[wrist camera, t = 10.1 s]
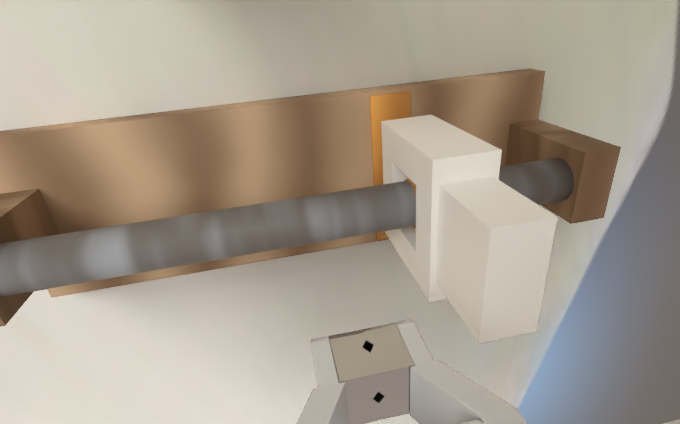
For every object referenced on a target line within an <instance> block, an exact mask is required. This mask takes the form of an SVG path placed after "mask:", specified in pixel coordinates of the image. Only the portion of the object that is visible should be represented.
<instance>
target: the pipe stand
mask: <svg viewBox="0 0 680 424" xmlns="http://www.w3.org/2000/svg"><path fill="white" fill-rule="evenodd" d="M544 75H545V71H540V70H533V69H525V70H517V71H508V72H500V73H491V74H483V75H474V76H466V77H457V78H449V79H440V80H432V81H423V82H415V83H406V84H398V85H389V86H381V87H372V88H364V89H355V90H347V91H338V92H330V93H321V94H313V95H304V96H296V97H287V98H279V99H270V100H262V101H253V102H245V103H236V104H228V105H219V106H211V107H202V108H194V109H185V110H177V111H168V112H160V113H151V114H143V115H134V116H126V117H117V118H109V119H100V120H92V121H83V122H75V123H66V124H58V125H49V126H41V127H32V128H23V129H15V130H6V131H0V326H5V325H6V324H7V323H8V321H9V320H10V319H11V318H12V317H13V315H14V314H15V313H16V312H17V311H18V309H19V308H20V307H21V306H22V305H23V303H24V302H25V301H26V300H27V299H28V297H29V296H30V295H31V294H32V293H33V291H38V290H44V289H47V290H48V292H49V293H50V295H51V297H57V296H63V295H69V294H75V293H80V292H86V291H92V290H98V289H103V288H109V287H115V286H121V285H126V284H132V283H138V282H144V281H149V280H155V279H161V278H167V277H172V276H178V275H184V274H190V273H195V272H201V271H207V270H213V269H218V268H224V267H230V266H236V265H242V264H247V263H253V262H259V261H265V260H270V259H276V258H282V257H288V256H293V255H299V254H305V253H311V252H316V251H322V250H328V249H334V248H339V247H345V246H351V245H357V244H362V243H368V242H374V241H380V240H385V239H389V238H388V236H387V235H386V233H385V231H389V230H395V229H401V228H407V227H412V228H416V185H415V184H414V183H413V182H412V181H411V180H410V179H405V180H404V181H403V182H396V183H390V184H383V159H382V130H381V121H386V120H394V119H401V118H409V117H417V116H424V115H433V116H435V117H437V118H439V119H441V120H443V121H445V122H447V123H449V124H451V125H453V126H455V127H457V128H459V129H461V130H463V131H465V132H467V133H469V134H471V135H473V136H475V137H477V138H479V139H481V140H483V141H485V142H487V143H489V144H491V145H493V146H495V147H497V148H499V149H501V150H502V153H501V163H500V172H499V180H500V181H501V182H503V183H504V184H506V185H508V186H509V187H511V188H512V189H514V190H516V191H517V192H519V193H520V194H522V195H523V196H525V197H527V198H528V199H530V200H531V201H533V202H534V203H536V204H538V205H542V206H544V207H545V208H547V209H548V210H550V211H552V212H553V213H555V214H556V215H558V216H560V217H561V218H563V219H564V220H566V221H568V222H569V223H577V222H582V221H588V220H593V219H599V218H604V214H605V210H606V206H607V201H608V197H609V193H610V189H611V185H612V181H613V177H614V173H615V169H616V165H617V161H618V157H619V153H620V148H621V147H618V146H615V145H612V144H609V143H606V142H603V141H600V140H597V139H594V138H591V137H588V136H585V135H582V134H579V133H576V132H573V131H570V130H567V129H564V128H561V127H558V126H555V125H552V124H549V123H546V122H543V121H540V120H538V117H539V110H540V103H541V96H542V89H543V82H544Z"/></svg>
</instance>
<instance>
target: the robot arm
mask: <svg viewBox="0 0 680 424" xmlns="http://www.w3.org/2000/svg"><path fill="white" fill-rule="evenodd" d="M311 348H312V355H313V361H314V368H315V374H316V381H317V387H318V388H315V389H313V391H312V393H311V395H310V397H309V399H308V401H307V403H306V405H305V407H304V409H303V411H302V413H301V415H300V417H299V419H298V422H297V424H365V423H369V422H373V421H376V420H380V419H385V418H390V417H395V416H399V415H404V414H409V413H410V416H411V417H412V418H414V419H415V420H416V421H417V422H418V423H419V424H527V423H526V421H525V420H524V418H523V417H522V415H521V414H520V412H519V411H518V409H517V408H516V407H514V406H512V405H511V404H509V403H507V402H506V401H504V400H503V399H501V398H499V397H498V396H496V395H494V394H493V393H491V392H490V391H488V390H486V389H485V388H483V387H481V386H480V385H478V384H477V383H475V382H473V381H472V380H470V379H469V378H467V377H465V376H464V375H462V374H460V373H459V372H457V371H456V370H454V369H452V368H451V367H449V366H447V365H446V364H444V363H443V362H441V361H434V360H433V358H432V356H431V354H430V352H429V350H428V348H427V346H426V344H425V343H424V341H423V339H422V337H421V335H420V333H419V331H418V329H417V327H416V326H415V324H414V322H413V321H412V320H411V319H409V320H405V321H400V322H395V323H391V324H386V325H381V326H377V327H372V328H368V329H363V330H359V331H354V332H348V333H343V334H337V335H332V336H328V337H323V338H317V339H311ZM664 424H680V419H679V420H675V421H671V422H668V423H664Z"/></svg>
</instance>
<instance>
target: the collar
mask: <svg viewBox="0 0 680 424" xmlns="http://www.w3.org/2000/svg"><path fill="white" fill-rule="evenodd" d="M381 130H382V159H383V184H390V183H396V182H403V181H404V180H405V179H410V180H411V181H412V182H413V183H414V184H415V185H416V228H412V227H407V228H401V229H395V230H389V231H385V233H386V235H387V236H388V238H389V239H390V241H391V243H392V244H393V246H394V247H395V249H396V251H397V252H398V254H399V255H400V257H401V258H402V260H403V262H404V263H405V265H406V266H407V268H408V270H409V271H410V273H411V274H412V276H413V278H414V279H415V281H416V282H417V284H418V285H419V287H420V289H421V290H422V292H423V293H424V295H425V297H426V298H427V300H428V301H429V302H434V301H439V300H444V299H447V300H448V301H449V302H450V304H451V305H452V307H453V308H454V310H455V311H456V312H457V314H458V315H459V317H460V318H461V319H462V321H463V322H464V324H465V325H466V327H467V328H468V329H469V331H470V332H471V334H472V335H473V337H474V338H475V339H476V341H477V342H478V344H482V343H487V342H491V341H496V340H500V339H505V338H509V337H514V336H518V335H523V334H527V333H532V332H536V331H537V325H538V320H539V315H540V309H541V304H542V299H543V293H544V288H545V283H546V277H547V272H548V267H549V261H550V256H551V251H552V245H553V240H554V234H555V229H556V224H557V218H558V217H557V216H555V215H553V214H552V213H550V212H549V211H547V210H546V209H544V208H542V207H541V206H539V205H538V204H536V203H534V202H533V201H531V200H530V199H528V198H527V197H525V196H523V195H522V194H520V193H519V192H517V191H516V190H514V189H512V188H511V187H509V186H508V185H506V184H504V183H503V182H501V181H500V180H499V172H500V163H501V153H502V150H501V149H499V148H497V147H495V146H493V145H491V144H489V143H487V142H485V141H483V140H481V139H479V138H477V137H475V136H473V135H471V134H469V133H467V132H465V131H463V130H461V129H459V128H457V127H455V126H453V125H451V124H449V123H447V122H445V121H443V120H441V119H439V118H437V117H435V116H433V115H424V116H417V117H409V118H401V119H394V120H386V121H381Z"/></svg>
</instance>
